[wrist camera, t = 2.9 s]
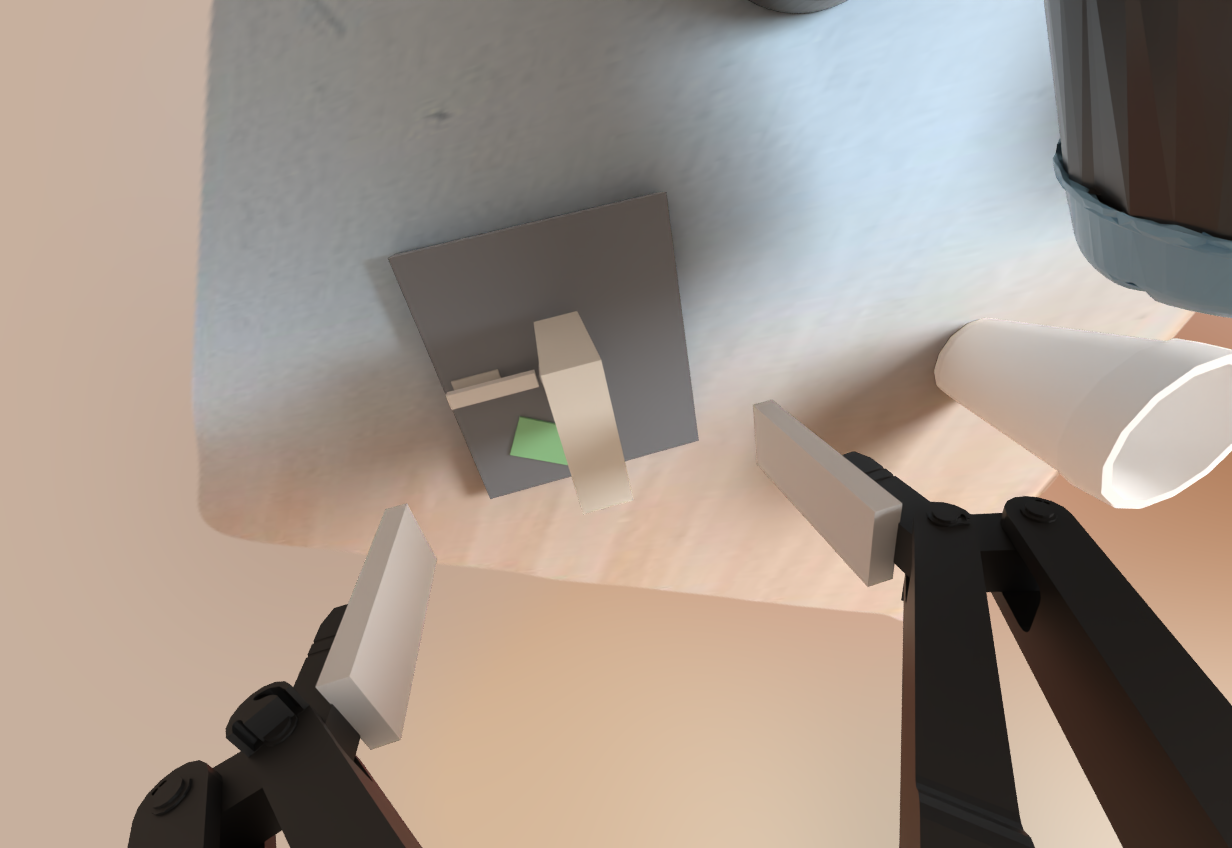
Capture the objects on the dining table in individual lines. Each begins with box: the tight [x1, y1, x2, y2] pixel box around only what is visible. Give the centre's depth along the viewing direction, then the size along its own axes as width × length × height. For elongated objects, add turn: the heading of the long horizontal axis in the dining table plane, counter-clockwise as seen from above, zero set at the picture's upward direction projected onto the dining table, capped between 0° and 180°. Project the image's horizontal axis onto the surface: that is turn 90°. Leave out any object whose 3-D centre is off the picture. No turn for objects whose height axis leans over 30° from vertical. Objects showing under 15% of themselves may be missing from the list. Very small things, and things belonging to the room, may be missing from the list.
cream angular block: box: [446, 311, 634, 515], centre depth 23 cm, size 7×9×10 cm
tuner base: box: [388, 192, 699, 499], centre depth 29 cm, size 16×15×2 cm
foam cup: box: [934, 318, 1232, 509], centre depth 30 cm, size 10×9×13 cm
